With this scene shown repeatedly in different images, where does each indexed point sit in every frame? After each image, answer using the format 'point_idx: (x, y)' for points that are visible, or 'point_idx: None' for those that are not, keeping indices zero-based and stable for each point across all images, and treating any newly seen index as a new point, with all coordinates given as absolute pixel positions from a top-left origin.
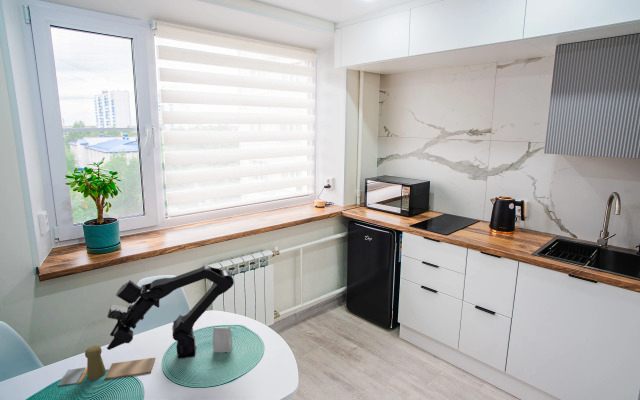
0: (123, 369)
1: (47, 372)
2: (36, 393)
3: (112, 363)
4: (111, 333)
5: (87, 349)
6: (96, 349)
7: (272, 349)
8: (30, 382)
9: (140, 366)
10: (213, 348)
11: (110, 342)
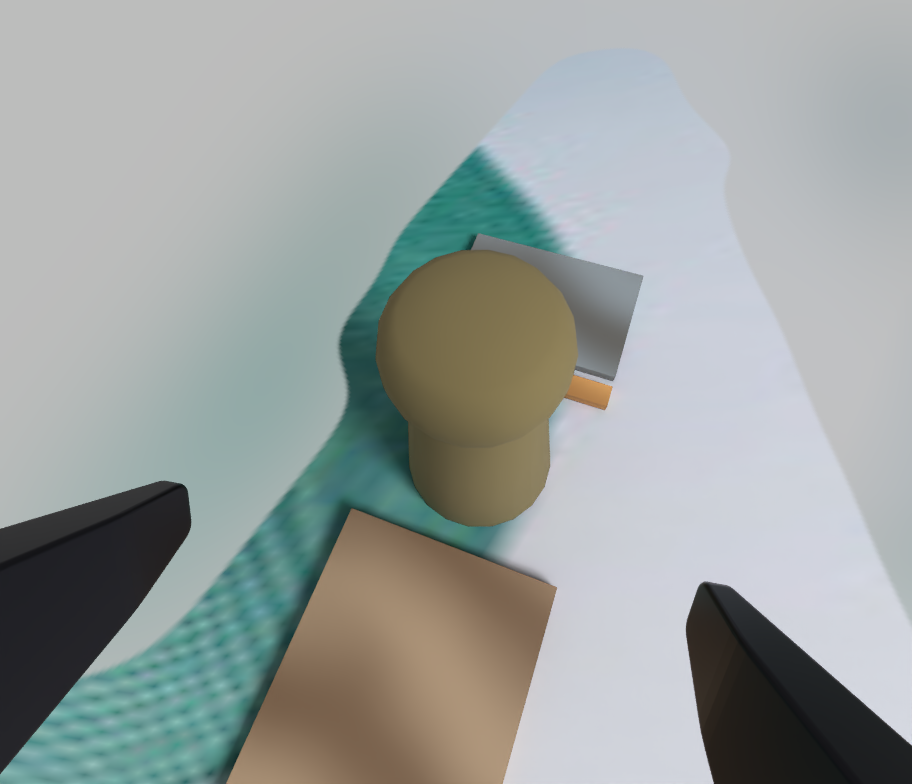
0: (379, 687)
1: (683, 182)
2: (476, 156)
3: (553, 591)
4: (718, 619)
5: (482, 258)
6: (409, 359)
7: None
8: (613, 123)
9: None
10: None
11: (38, 543)
